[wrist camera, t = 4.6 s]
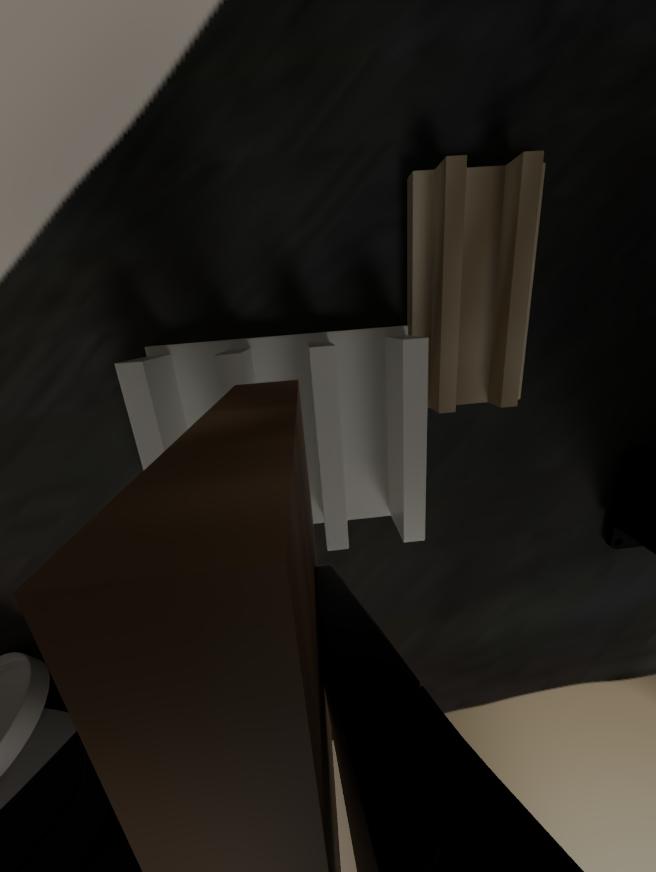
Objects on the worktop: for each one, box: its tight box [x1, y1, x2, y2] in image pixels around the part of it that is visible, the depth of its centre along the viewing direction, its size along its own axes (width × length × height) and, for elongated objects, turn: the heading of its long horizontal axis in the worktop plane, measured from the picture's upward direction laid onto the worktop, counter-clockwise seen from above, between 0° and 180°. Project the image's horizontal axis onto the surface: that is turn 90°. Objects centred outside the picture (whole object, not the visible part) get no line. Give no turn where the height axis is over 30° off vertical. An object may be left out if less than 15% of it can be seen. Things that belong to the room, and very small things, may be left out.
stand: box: [407, 151, 546, 413], centre depth 15 cm, size 6×10×2 cm, turn 4°
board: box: [13, 380, 341, 872], centre depth 7 cm, size 2×8×7 cm, turn 4°
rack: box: [115, 326, 429, 551], centre depth 16 cm, size 12×10×4 cm
